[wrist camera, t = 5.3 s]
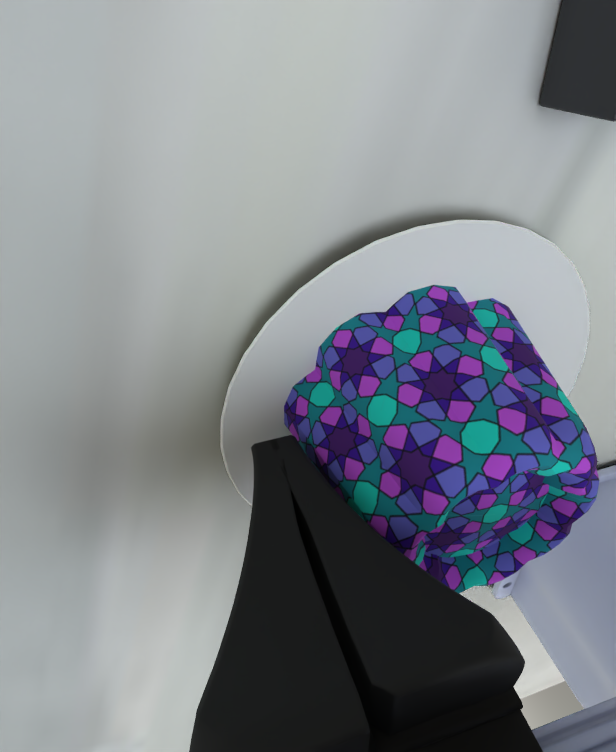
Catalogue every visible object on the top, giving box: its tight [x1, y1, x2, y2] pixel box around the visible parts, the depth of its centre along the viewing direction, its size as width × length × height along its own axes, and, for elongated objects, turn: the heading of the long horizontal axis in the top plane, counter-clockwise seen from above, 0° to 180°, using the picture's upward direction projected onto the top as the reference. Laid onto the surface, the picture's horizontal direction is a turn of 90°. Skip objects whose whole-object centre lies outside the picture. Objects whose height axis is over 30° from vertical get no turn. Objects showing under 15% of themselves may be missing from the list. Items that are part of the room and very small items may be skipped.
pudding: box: [220, 220, 599, 593], centre depth 13 cm, size 12×12×5 cm
